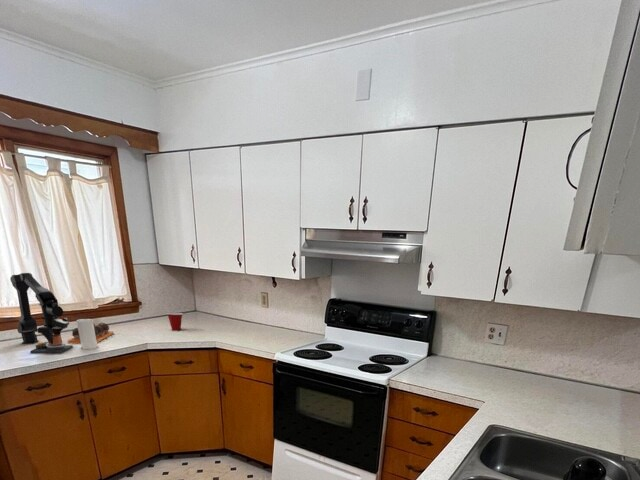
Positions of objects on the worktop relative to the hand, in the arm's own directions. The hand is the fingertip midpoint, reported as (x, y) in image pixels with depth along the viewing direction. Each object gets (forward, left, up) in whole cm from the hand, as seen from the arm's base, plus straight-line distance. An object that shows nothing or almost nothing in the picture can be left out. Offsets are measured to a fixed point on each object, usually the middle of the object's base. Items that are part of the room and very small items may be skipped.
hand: (55, 342), depth 240 cm
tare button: (-8, 0, -2) cm, 8 cm away
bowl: (0, 0, -1) cm, 1 cm away
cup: (+15, +8, -5) cm, 17 cm away
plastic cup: (+51, +63, -5) cm, 81 cm away
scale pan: (-2, 0, -2) cm, 3 cm away
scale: (-2, 0, -5) cm, 5 cm away
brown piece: (+6, +32, -5) cm, 33 cm away
